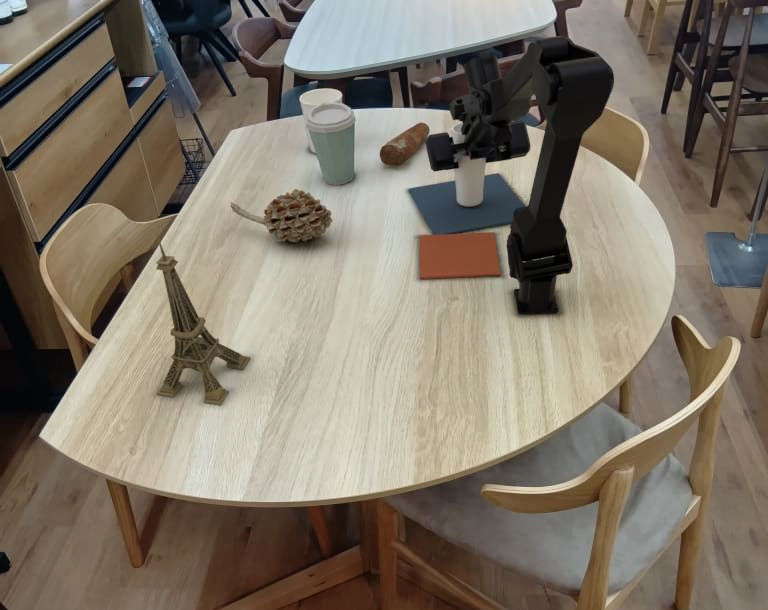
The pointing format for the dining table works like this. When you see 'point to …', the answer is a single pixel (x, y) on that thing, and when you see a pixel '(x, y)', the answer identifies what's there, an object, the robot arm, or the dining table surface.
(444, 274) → the terracotta mat
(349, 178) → the disposable coffee cup
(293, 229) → the pine cone
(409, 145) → the bread
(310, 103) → the cream paper cup
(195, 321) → the eiffel tower
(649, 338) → the dining table surface
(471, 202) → the tall white cup
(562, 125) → the robot arm
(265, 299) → the dining table surface
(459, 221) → the mat
